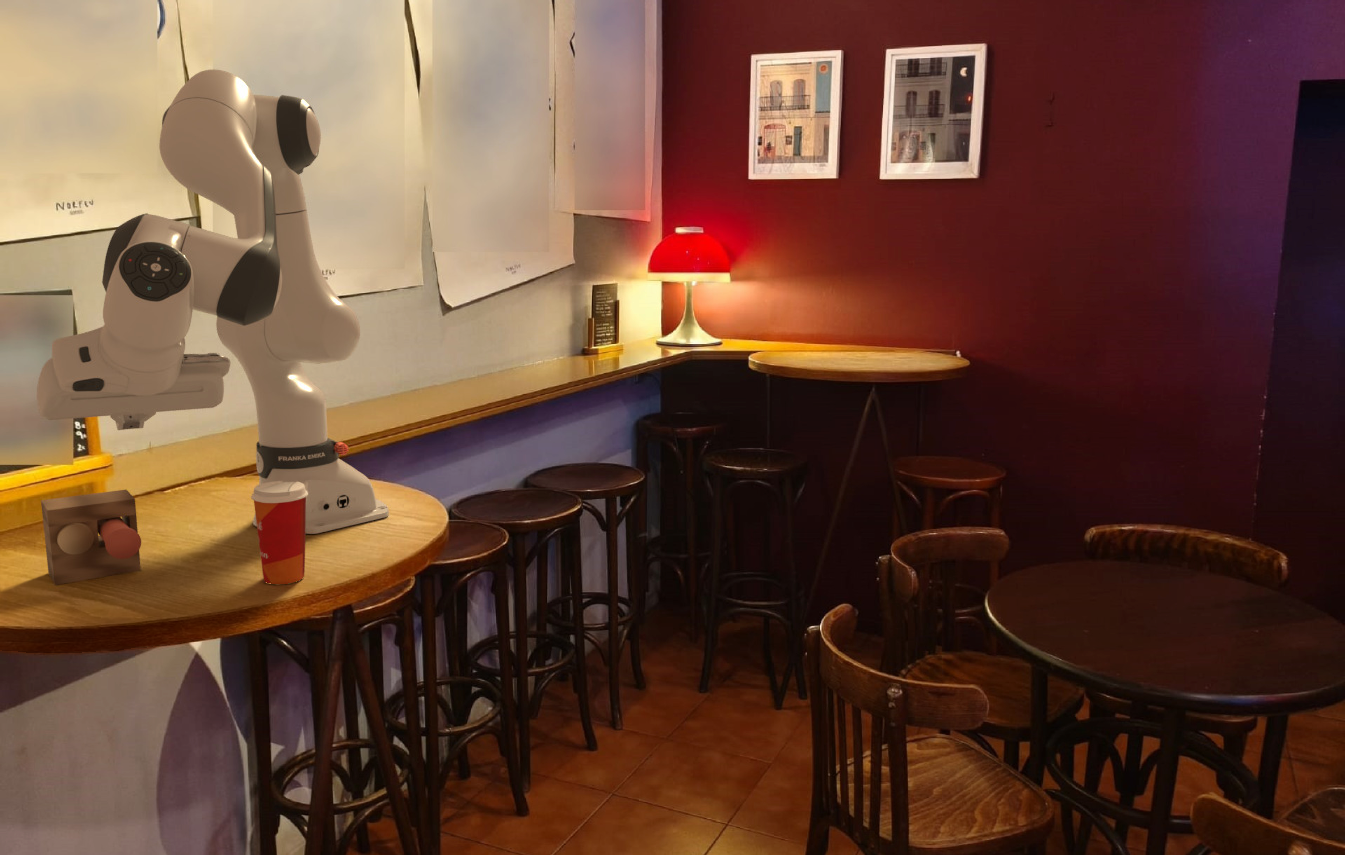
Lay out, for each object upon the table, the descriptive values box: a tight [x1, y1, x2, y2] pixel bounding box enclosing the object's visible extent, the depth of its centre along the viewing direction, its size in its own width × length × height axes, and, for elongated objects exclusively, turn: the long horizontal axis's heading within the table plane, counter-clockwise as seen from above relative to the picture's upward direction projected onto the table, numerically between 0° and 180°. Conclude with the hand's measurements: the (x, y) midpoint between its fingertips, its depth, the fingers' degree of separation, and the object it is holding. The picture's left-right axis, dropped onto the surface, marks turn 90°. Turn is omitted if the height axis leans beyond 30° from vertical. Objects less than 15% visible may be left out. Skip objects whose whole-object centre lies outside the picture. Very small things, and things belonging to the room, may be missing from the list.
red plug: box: [97, 517, 142, 559], centre depth 144 cm, size 4×11×4 cm, turn 39°
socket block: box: [40, 489, 142, 586], centre depth 146 cm, size 11×7×11 cm, turn 129°
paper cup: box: [250, 481, 308, 586], centre depth 145 cm, size 8×8×14 cm
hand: (129, 424), depth 127 cm, fingers closed
